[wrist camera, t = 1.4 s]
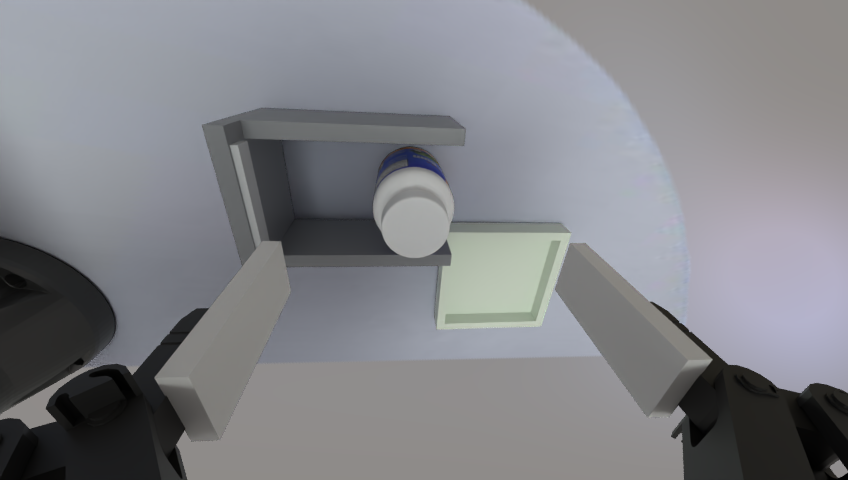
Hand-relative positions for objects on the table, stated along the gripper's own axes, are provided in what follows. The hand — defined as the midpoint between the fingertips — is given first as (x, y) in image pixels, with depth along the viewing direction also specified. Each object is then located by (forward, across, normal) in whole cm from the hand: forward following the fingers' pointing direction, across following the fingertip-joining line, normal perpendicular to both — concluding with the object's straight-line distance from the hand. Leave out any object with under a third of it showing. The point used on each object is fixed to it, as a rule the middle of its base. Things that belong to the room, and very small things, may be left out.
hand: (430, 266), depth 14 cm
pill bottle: (+14, 0, 0) cm, 14 cm away
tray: (+14, +8, -10) cm, 19 cm away
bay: (+13, -4, 0) cm, 14 cm away
